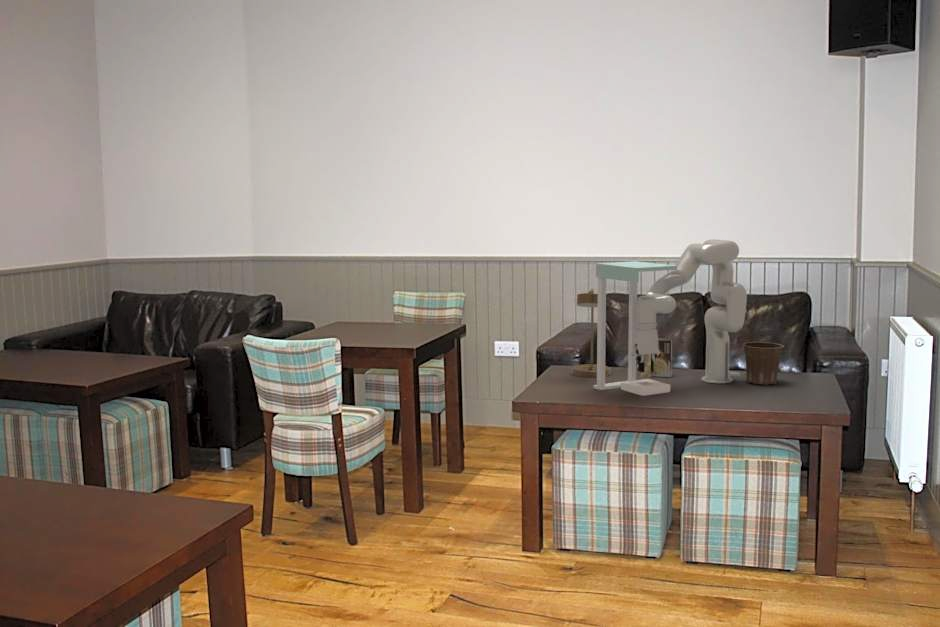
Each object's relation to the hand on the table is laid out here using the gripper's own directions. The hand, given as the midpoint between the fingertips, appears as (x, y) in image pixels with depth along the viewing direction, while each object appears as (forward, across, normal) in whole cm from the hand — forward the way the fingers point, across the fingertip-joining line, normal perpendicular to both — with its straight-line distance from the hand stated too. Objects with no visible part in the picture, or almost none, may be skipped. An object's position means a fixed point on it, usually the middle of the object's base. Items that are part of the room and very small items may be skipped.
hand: (645, 370), depth 393 cm
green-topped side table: (+8, +5, -2) cm, 10 cm away
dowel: (+2, 0, 0) cm, 2 cm away
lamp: (+8, +1, -37) cm, 38 cm away
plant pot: (+8, -52, +12) cm, 55 cm away
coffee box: (+8, -26, -21) cm, 35 cm away
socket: (+8, 0, 0) cm, 8 cm away
